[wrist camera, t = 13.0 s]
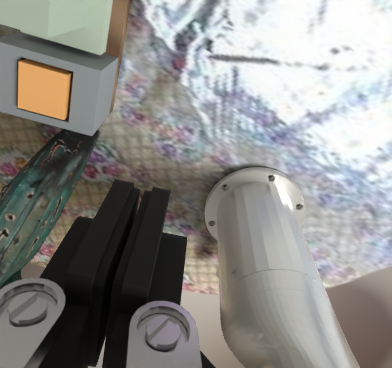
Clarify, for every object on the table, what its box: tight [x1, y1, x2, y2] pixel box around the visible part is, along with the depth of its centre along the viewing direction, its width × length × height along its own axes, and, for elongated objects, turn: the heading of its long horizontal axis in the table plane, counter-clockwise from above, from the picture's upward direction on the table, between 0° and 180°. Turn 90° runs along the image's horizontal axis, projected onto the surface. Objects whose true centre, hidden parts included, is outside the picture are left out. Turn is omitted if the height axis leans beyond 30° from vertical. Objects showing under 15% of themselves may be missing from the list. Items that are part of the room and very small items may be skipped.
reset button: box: [18, 58, 74, 120], centre depth 31 cm, size 4×4×5 cm
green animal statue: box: [0, 129, 100, 290], centre depth 34 cm, size 20×6×20 cm, turn 145°
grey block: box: [0, 32, 118, 136], centre depth 32 cm, size 6×9×6 cm, turn 74°
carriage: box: [0, 0, 113, 55], centre depth 26 cm, size 7×7×10 cm
